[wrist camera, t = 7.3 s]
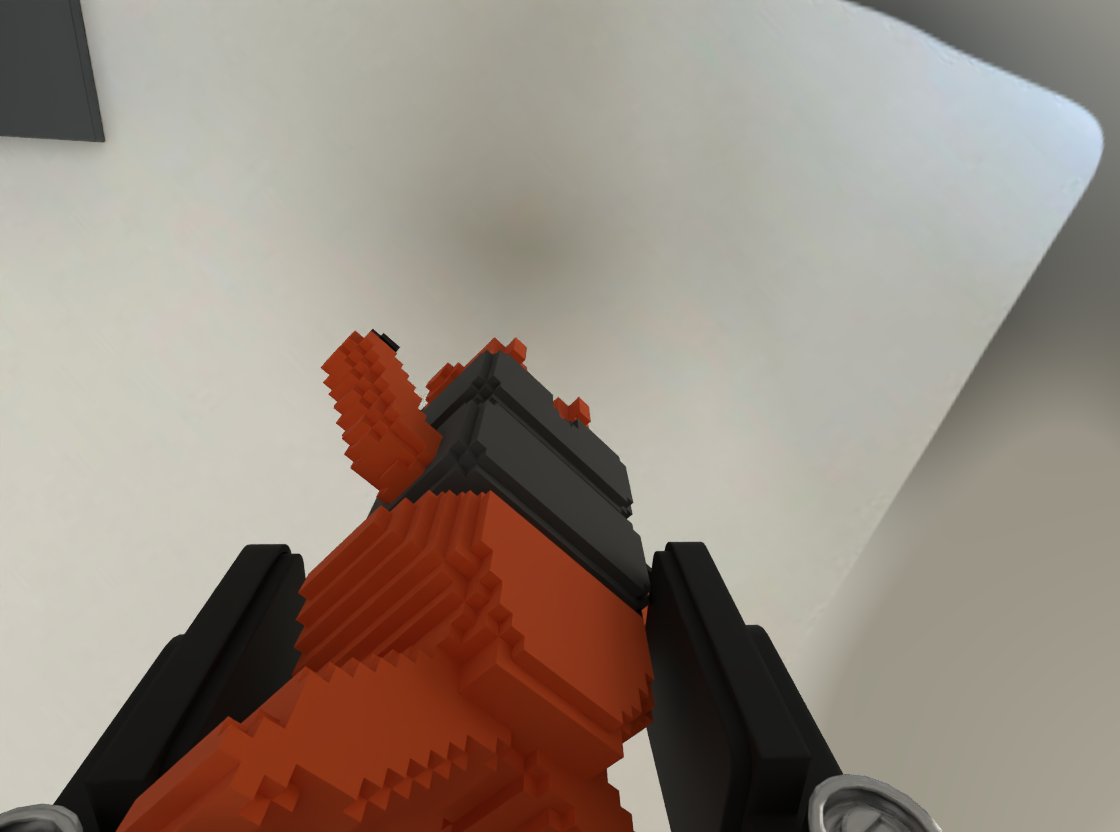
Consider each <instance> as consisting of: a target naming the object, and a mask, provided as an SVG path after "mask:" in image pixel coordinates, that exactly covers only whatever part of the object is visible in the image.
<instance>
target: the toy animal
mask: <svg viewBox="0 0 1120 832" xmlns="http://www.w3.org/2000/svg"><path fill="white" fill-rule="evenodd" d="M399 348H400V347H399V346H398V345H397V344H396V343H395V342H393V341H392V340H391V339H390V338H389V337H388V336H387V335H385V334H384V333H383V334H382V335H381V336H380V335H379V334H378V333H377V332H376V331H375V330H374V329H372V330H371V331H370V332H369V333H368V334H367V336H366V337H365V338H363V337H362V336H361V335H360V334H359V333H358V332H356V331H354V332H353V333H352V334H351V335H350V336H349V337H348V338H347V339H346V340H345V342H344V343H343V344H342V345H341V346H340V347H339V348H338V349H337V350H336V351H335V352H334V353H333V354H332V355H331V356H330V358H329V359H328V360H327V361H326V362H325V363H324V365H323V366H322V367H321V369H323V370H324V371H325V372H326V373H328V374H329V377H328V378H327V379H326V380H325V381H324V382H323V383H324V384H325V385H326V386H327V387H329V388H330V389H331V390H332V391H331V392H330V393H329V395H330V396H331V397H332V398H333V399H335V400H336V401H337V403H336V404H335V405H334V409H336V410H337V411H338V412H339V413H341V414H342V416H341V417H340V418H339V419H338V421H337V422H336V424H338V425H339V426H340V427H341V428H343V429H344V430H345V432H344V433H343V434H342V436H343V437H342V439H343V440H344V441H345V442H346V443H348V444H349V445H350V446H349V447H348V449H347V450H346V452H345V453H344V455H346V456H347V457H348V458H349V459H351V460H352V461H353V464H352V466H351V467H350V468H351V469H352V470H354V471H355V472H356V473H357V474H359V475H360V476H361V477H362V478H364V479H365V480H366V481H368V482H369V483H370V484H371V485H373V486H374V487H375V488H377V489H378V490H379V492H378V494H377V496H376V497H377V498H376V500H375V503H374V505H373V507H372V509H371V511H370V513H369V515H368V517H367V519H366V520H365V521H364V522H363V523H362V524H361V525H360V526H359V527H357V528H356V529H355V530H354V531H353V532H352V533H351V534H350V535H349V536H348V537H347V538H346V539H345V540H344V541H343V542H342V543H341V544H340V545H339V546H338V547H336V548H335V549H334V550H333V551H332V552H331V553H330V554H329V555H328V556H327V557H326V558H325V559H324V560H323V561H322V562H321V563H320V564H319V565H318V566H317V567H315V568H314V569H313V570H312V571H311V572H310V573H309V574H308V576H307V578H306V579H305V581H304V583H303V585H302V587H301V588H300V590H299V592H298V593H299V594H300V595H302V596H303V597H304V598H306V599H307V600H306V602H305V604H304V605H303V607H302V609H301V611H300V613H299V615H298V617H297V619H296V620H297V621H298V622H300V623H301V624H303V625H304V628H303V630H302V632H301V634H300V636H299V638H298V640H297V642H296V644H295V645H294V648H295V649H297V650H298V651H300V652H301V653H302V654H301V656H300V658H299V660H298V662H297V665H296V667H295V669H294V671H293V673H292V676H294V677H293V678H292V679H291V680H289V681H288V682H287V683H286V684H285V685H284V686H283V687H282V688H280V689H279V690H278V691H277V692H276V693H275V694H274V695H273V696H271V697H270V698H269V699H268V700H267V701H266V702H265V703H264V704H262V705H261V706H260V707H259V708H258V709H257V710H256V711H255V712H253V713H252V714H251V715H250V716H249V717H248V718H247V719H246V720H244V721H243V722H242V723H241V724H240V723H239V722H237V721H235V720H234V719H232V718H230V717H229V716H228V717H227V718H226V719H225V720H224V721H223V722H221V723H220V724H219V725H218V726H217V727H216V728H215V729H214V730H213V731H212V732H210V733H209V734H208V735H207V736H206V737H205V738H204V739H203V740H202V741H200V742H199V743H198V744H197V745H196V746H195V747H194V748H193V749H192V750H190V751H189V752H188V753H187V754H186V755H185V756H184V757H183V758H182V759H180V760H179V761H178V762H177V763H176V764H175V765H174V766H173V767H172V768H170V769H169V770H168V771H167V772H166V773H165V774H164V775H163V776H162V777H160V778H159V779H158V780H157V781H156V782H155V783H154V784H153V785H152V786H150V787H149V788H148V789H147V790H146V791H145V792H144V793H143V794H142V795H140V796H139V797H138V798H137V799H136V800H135V802H134V803H133V805H132V807H131V808H130V810H129V811H128V813H127V814H126V816H125V818H124V819H123V821H122V822H121V824H120V826H119V827H118V829H117V830H116V832H635V831H633V822H632V814H631V813H629V812H628V811H626V810H625V809H623V808H622V807H621V806H620V796H619V790H617V789H616V788H614V787H613V786H612V785H610V784H609V783H608V778H607V768H608V767H610V766H611V765H613V764H614V763H616V762H617V761H619V760H620V759H622V758H623V757H624V753H623V744H622V743H624V742H625V741H627V740H628V739H630V738H631V737H633V736H634V735H636V734H637V733H639V732H640V731H642V730H643V729H644V728H646V727H647V726H648V725H650V724H651V723H653V722H654V721H653V715H652V709H653V708H654V707H655V704H654V698H653V692H652V687H651V682H652V681H653V680H654V675H653V669H652V664H651V658H650V653H649V647H648V642H647V636H646V631H645V626H646V617H647V608H648V605H649V604H650V600H649V592H650V591H651V586H650V581H651V572H652V568H651V567H649V566H648V565H647V564H646V562H645V557H644V552H643V547H642V542H641V538H640V535H639V534H637V533H636V532H635V531H634V530H633V526H632V523H631V522H629V521H628V520H627V518H629V517H630V516H631V515H632V509H631V504H632V503H633V499H632V495H631V490H630V485H629V480H628V475H627V471H626V466H625V465H624V464H623V463H621V462H620V459H619V456H618V455H616V454H615V453H614V452H613V451H612V450H611V449H610V448H609V447H608V446H607V445H606V444H605V443H604V442H603V441H601V440H600V439H599V438H598V437H597V436H596V435H595V434H594V433H593V432H592V431H591V430H590V429H589V427H588V423H589V422H591V420H590V412H589V406H588V405H587V404H586V403H585V402H584V401H582V400H581V399H580V398H579V397H578V398H577V399H576V400H575V401H574V402H573V403H572V404H571V405H569V406H567V405H566V404H565V403H564V402H563V401H562V400H561V399H560V398H559V397H558V398H557V399H556V400H554V401H553V395H552V394H551V393H550V392H549V391H548V390H547V389H546V388H545V387H544V386H543V385H542V384H541V383H539V382H538V381H537V380H536V379H535V378H534V377H533V376H532V375H531V374H530V373H529V372H528V371H527V367H526V366H525V365H524V364H523V363H522V362H523V361H525V357H526V350H527V347H526V346H525V345H524V344H522V343H521V342H520V341H519V340H518V339H517V338H515V339H514V340H513V341H512V342H511V343H510V344H509V345H508V346H507V347H505V346H503V345H502V344H501V343H500V342H499V341H498V340H497V339H496V338H495V337H494V338H493V339H492V340H491V341H490V342H489V343H488V344H487V345H486V346H485V347H484V348H483V349H482V350H481V351H480V352H479V353H478V354H477V355H476V356H475V357H474V358H473V359H472V360H471V361H470V362H469V363H468V364H467V365H466V366H465V367H463V366H462V365H461V364H460V363H459V362H458V363H457V364H456V365H455V366H454V367H453V366H452V365H451V364H449V363H447V364H446V365H445V366H444V367H443V368H442V369H441V370H440V371H439V372H438V373H437V374H436V375H435V376H434V377H433V378H432V379H431V380H430V381H429V382H428V384H427V386H426V388H427V389H428V390H430V391H429V393H428V395H427V397H426V399H425V400H426V401H427V402H428V404H427V405H426V406H425V407H424V408H423V409H422V410H419V409H418V407H419V405H420V403H421V401H422V398H421V397H419V396H418V395H417V394H416V393H415V392H414V390H415V388H416V387H415V386H414V385H413V384H411V383H410V382H409V381H408V380H407V379H408V377H409V375H408V374H407V373H406V372H405V371H403V370H402V369H401V367H402V365H403V364H402V363H401V362H400V361H399V360H398V359H396V358H395V356H396V354H397V353H396V351H397V350H398V349H399Z"/></svg>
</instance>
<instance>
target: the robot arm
mask: <svg viewBox="0 0 1120 832" xmlns="http://www.w3.org/2000/svg"><path fill="white" fill-rule="evenodd" d="M305 579H306V578H305V570H304V562H303V558H302V556H301V555H300V554H291V550H290V548H289V546H288V545H286V544H250V545H246V546H245V547H244V548H243V550H242V551H241V553H240V554H239V555H238V557H237V558H236V560H235V561H234V563H233V564H232V566H231V567H230V569H229V570H228V571H227V573H226V574H225V576H224V577H223V579H222V580H221V582H220V583H219V585H218V586H217V588H216V589H215V590H214V592H213V593H212V595H211V596H210V598H209V599H208V601H207V602H206V604H205V605H204V606H203V608H202V609H201V611H200V612H199V614H198V615H197V617H196V618H195V620H194V621H193V623H192V624H191V625H190V627H189V628H188V630H187V631H186V633H185V634H180V635H178V636H176V637H174V638H172V639H171V640H170V642H169V643H168V644H167V645H166V646H165V647H164V649H163V650H162V652H161V653H160V654H159V656H158V657H157V659H156V660H155V661H154V663H153V664H152V666H151V667H150V668H149V670H148V671H147V673H146V674H145V676H144V677H143V678H142V680H141V681H140V683H139V684H138V685H137V687H136V688H135V690H134V691H133V693H132V694H131V695H130V697H129V698H128V700H127V701H126V702H125V704H124V705H123V707H122V708H121V709H120V711H119V712H118V714H117V715H116V717H115V718H114V719H113V721H112V722H111V724H110V725H109V726H108V728H107V729H106V731H105V732H104V733H103V735H102V736H101V738H100V739H99V741H98V742H97V743H96V745H95V746H94V748H93V749H92V750H91V752H90V753H89V755H88V756H87V757H86V759H85V760H84V762H83V763H82V765H81V766H80V767H79V769H78V770H77V772H76V773H75V774H74V776H73V777H72V779H71V780H70V781H69V783H68V784H67V786H66V787H65V789H64V790H63V791H62V793H61V794H60V796H59V797H58V798H57V800H56V801H55V803H54V804H53V805H49V804H37V805H31V806H25V807H18V808H15V809H12V810H10V811H7V812H4V813H1V814H0V832H116V830H117V829H118V827H119V826H120V824H121V822H122V821H123V819H124V818H125V816H126V814H127V813H128V811H129V810H130V808H131V807H132V805H133V803H134V802H135V800H136V799H137V798H138V797H139V796H140V795H142V794H143V793H144V792H145V791H146V790H147V789H148V788H149V787H150V786H152V785H153V784H154V783H155V782H156V781H157V780H158V779H159V778H160V777H162V776H163V775H164V774H165V773H166V772H167V771H168V770H169V769H170V768H172V767H173V766H174V765H175V764H176V763H177V762H178V761H179V760H180V759H182V758H183V757H184V756H185V755H186V754H187V753H188V752H189V751H190V750H192V749H193V748H194V747H195V746H196V745H197V744H198V743H199V742H200V741H202V740H203V739H204V738H205V737H206V736H207V735H208V734H209V733H210V732H212V731H213V730H214V729H215V728H216V727H217V726H218V725H219V724H220V723H221V722H223V721H224V720H225V719H226V718H227V717H228V716H229V717H230V718H232V719H234V720H235V721H237V722H239V723H240V724H241V723H242V722H243V721H244V720H246V719H247V718H248V717H249V716H250V715H251V714H252V713H253V712H255V711H256V710H257V709H258V708H259V707H260V706H261V705H262V704H264V703H265V702H266V701H267V700H268V699H269V698H270V697H271V696H273V695H274V694H275V693H276V692H277V691H278V690H279V689H280V688H282V687H283V686H284V685H285V684H286V683H287V682H288V681H289V680H291V679H292V678H293V677H294V676H292V673H293V671H294V669H295V667H296V665H297V662H298V660H299V658H300V656H301V654H302V653H301V652H300V651H298V650H297V649H295V648H294V645H295V644H296V642H297V640H298V638H299V636H300V634H301V632H302V630H303V628H304V625H303V624H301V623H300V622H298V621H297V620H296V619H297V617H298V615H299V613H300V611H301V609H302V607H303V605H304V604H305V602H306V600H307V599H306V598H304V597H303V596H302V595H300V594H299V593H298V592H299V590H300V588H301V587H302V585H303V583H304V581H305ZM650 586H651V591H650V592H649V600H650V604H649V605H648V608H647V617H646V626H645V631H646V636H647V642H648V647H649V653H650V658H651V664H652V669H653V675H654V680H653V681H652V682H651V687H652V692H653V698H654V704H655V707H654V708H653V709H652V715H653V721H654V722H653V723H651V724H650V725H648V726H647V727H646V728H647V732H648V736H649V740H650V745H651V749H652V753H653V757H654V761H655V766H656V770H657V774H658V778H659V782H660V787H661V791H662V795H663V799H664V803H665V808H666V812H667V816H668V820H669V824H670V829H671V832H943V831H942V830H941V829H940V827H939V826H938V825H937V824H936V822H935V821H934V820H933V819H932V817H931V816H930V815H929V814H928V813H927V811H925V810H924V809H923V808H922V807H921V806H920V805H918V804H917V803H916V802H915V801H914V800H912V799H911V798H910V797H909V796H908V795H906V794H904V793H903V792H901V791H899V790H897V789H896V788H894V787H892V786H891V785H889V784H887V783H884V782H881V781H879V780H876V779H873V778H870V777H867V776H860V775H850V774H844V775H843V773H842V771H841V769H840V767H839V765H838V764H837V762H836V760H835V758H834V756H833V754H832V753H831V751H830V749H829V747H828V745H827V743H826V741H825V739H824V738H823V736H822V734H821V732H820V730H819V728H818V727H817V725H816V723H815V721H814V719H813V717H812V715H811V714H810V712H809V710H808V708H807V706H806V704H805V702H804V701H803V699H802V697H801V695H800V693H799V691H798V690H797V688H796V686H795V684H794V682H793V680H792V678H791V677H790V675H789V673H788V671H787V669H786V667H785V665H784V664H783V662H782V660H781V658H780V656H779V654H778V652H777V651H776V649H775V647H774V645H773V643H772V641H771V640H770V638H769V636H768V634H767V633H766V631H765V630H764V629H763V628H762V627H761V626H759V625H745V623H744V621H743V619H742V617H741V615H740V613H739V611H738V609H737V607H736V605H735V603H734V601H733V599H732V597H731V595H730V593H729V591H728V589H727V587H726V585H725V583H724V581H723V579H722V577H721V575H720V573H719V571H718V569H717V567H716V565H715V563H714V561H713V559H712V557H711V555H710V553H709V551H708V549H707V547H706V546H705V544H704V543H703V542H668V543H667V544H666V547H665V551H656V552H655V553H654V556H653V563H652V572H651V581H650Z"/></svg>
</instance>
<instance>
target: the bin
mask: <svg viewBox="0 0 1120 832" xmlns="http://www.w3.org/2000/svg"><path fill="white" fill-rule="evenodd" d="M0 136H8V137H24V138H41V139H57V140H74V141H90V142H104V136H103V130H102V125H101V119H100V114H99V108H98V103H97V97H96V92H95V86H94V81H93V75H92V70H91V65H90V59H89V54H88V48H87V43H86V37H85V32H84V26H83V21H82V15H81V10H80V4H79V0H0Z"/></svg>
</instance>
